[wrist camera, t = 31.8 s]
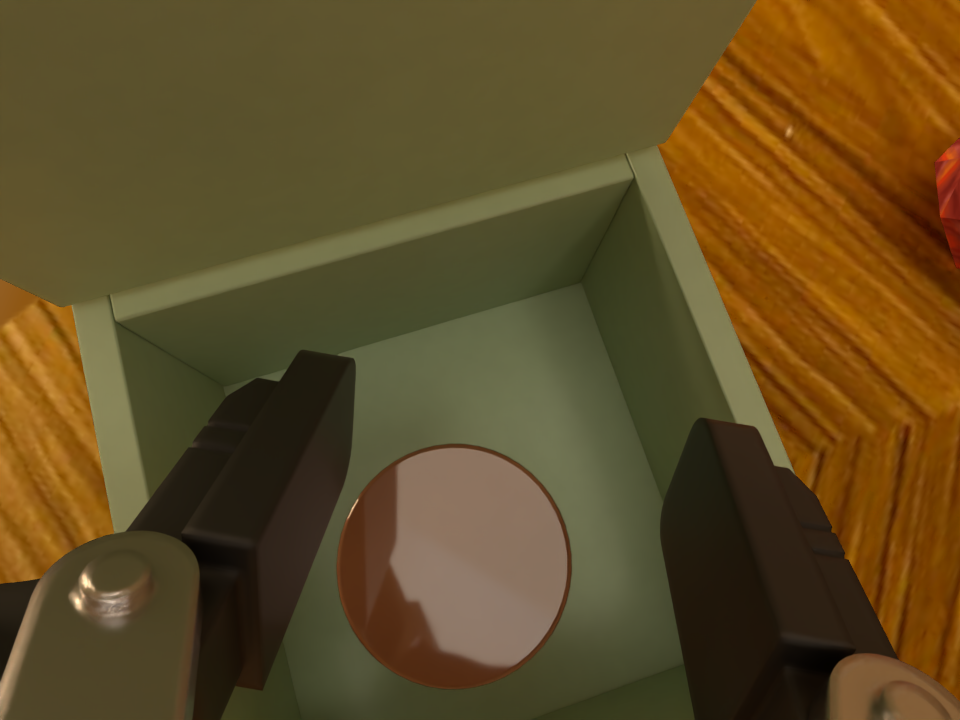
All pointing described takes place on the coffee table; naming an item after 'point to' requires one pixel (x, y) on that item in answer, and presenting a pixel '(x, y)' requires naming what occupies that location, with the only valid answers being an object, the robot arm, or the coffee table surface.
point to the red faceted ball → (950, 197)
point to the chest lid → (308, 117)
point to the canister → (454, 566)
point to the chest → (462, 411)
